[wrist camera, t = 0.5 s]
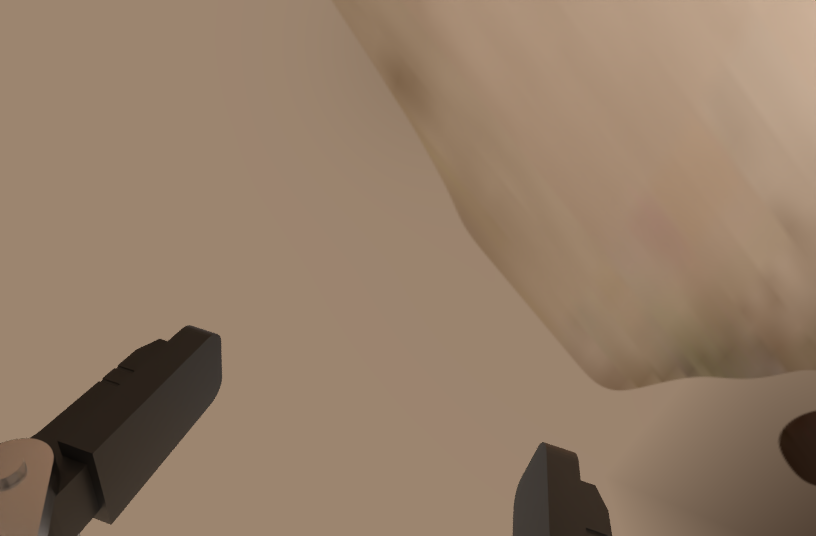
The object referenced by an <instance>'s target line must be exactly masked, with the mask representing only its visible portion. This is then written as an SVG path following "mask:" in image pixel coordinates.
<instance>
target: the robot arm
mask: <svg viewBox="0 0 816 536" xmlns="http://www.w3.org/2000/svg"><path fill="white" fill-rule="evenodd" d="M221 362H222V360H221V338H220V336H219V335H218V334H215V333H212V332H209V331H206V330H203V329H200V328H197V327H194V326H190V325H189V326H186V327H184V328H183V329H181V330H180V331H179V332H178V333H177V334H176V335H174V336H173V337H172V338H171V339H170V340H169V341H165V340H162V339H158V340H156V341H154V342H152V343H150V344H148V345H145V346H143V347H141V348H139V349H137V350H135V351H134V352H133V353H132V354H131V355H130V356H128V357H127V358H126V359H125V360H124V361H123V362H121V363H120V364H119V365H118V367H117V368H116V369H113V370H112V371H111V372H109V373H108V374H107V375H106V376H105V377H104V378H103V380H102V381H101V382H98V383H96V384H95V385H94V386H93V387H92V388H90V389H89V390H88V391H87V392H86V393H85V394H83V395H82V396H81V397H80V398H79V399H77V400H76V401H75V402H74V403H73V404H72V405H70V406H69V407H68V408H67V409H66V410H65V411H63V412H62V413H61V414H60V415H59V416H57V417H56V418H55V419H54V420H53V421H51V422H50V423H49V424H48V425H47V426H46V427H44V428H43V429H42V430H41V431H40V432H38V433H37V434H36V435H34V436H32V437H31V438H21V439H13V440H9V441H5V442H2V443H0V536H80V532H81V531H82V530H83V529H84V527H85V526H86V525H87V524H88V523H89V522H90V521H91V519H92V518H96V519H98V520H101V521H103V522H106V523H108V524H112V523H113V522H114V521H115V519H116V518H117V517H118V516H119V515H120V513H121V512H122V511H123V510H124V508H125V507H126V506H127V505H128V504H129V503H130V501H131V500H132V499H133V498H134V496H135V495H136V494H137V493H138V491H139V490H140V489H141V488H142V487H143V486H144V484H145V483H146V482H147V481H148V479H149V478H150V477H151V476H152V475H153V473H154V472H155V471H156V470H157V469H158V467H159V466H160V465H161V464H162V463H163V461H164V460H165V459H166V458H167V456H168V455H169V454H170V452H172V450H173V449H174V448H175V447H176V446H177V444H178V443H179V442H180V441H181V439H182V438H183V437H184V436H185V435H186V433H187V432H188V431H189V430H190V429H191V427H192V426H193V425H194V423H195V422H196V421H197V420H198V419H199V418H200V416H201V415H202V414H203V413H204V412H205V410H206V409H207V408H208V407H209V406H210V404H211V403H212V402H213V400H214V399H215V397H216V395H217V393H218V391H219V389H220V385H221V381H222V364H221ZM513 513H514V514H513V536H612V532H611V526H610V519H609V513H608V510H607V507H606V506H605V504H604V502H603V500H602V498H601V496H600V494H599V492H598V490H597V488H596V486H595V485H592V484H589V483H586V482H583V481H581V480H580V471H579V461H578V457H577V455H576V453H574V452H571V451H568V450H565V449H562V448H559V447H556V446H553V445H550V444H547V443H544V442H542V443H541V444H540V445H539V446H538V448H537V450H536V452H535V454H534V456H533V457H532V459H531V461H530V463H529V465H528V467H527V468H526V470H525V472H524V474H523V476H522V478H521V480H520V482H519V484H518V487H517V491H516V495H515V501H514V512H513Z"/></svg>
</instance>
